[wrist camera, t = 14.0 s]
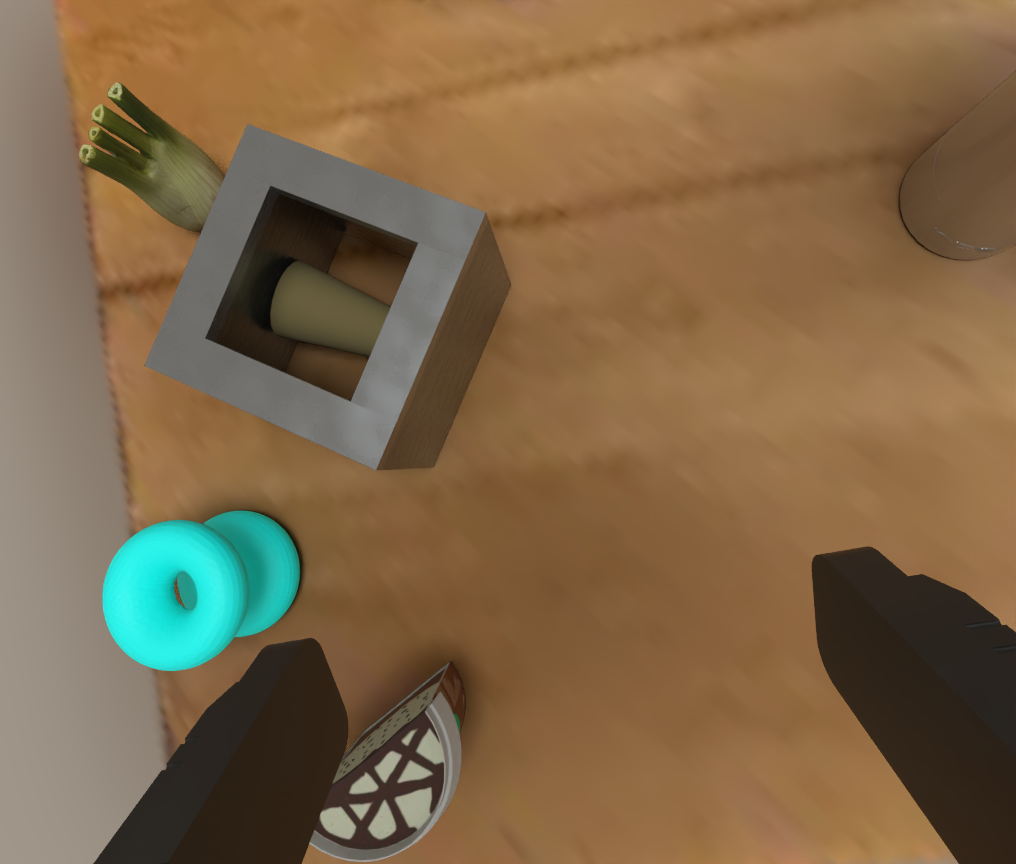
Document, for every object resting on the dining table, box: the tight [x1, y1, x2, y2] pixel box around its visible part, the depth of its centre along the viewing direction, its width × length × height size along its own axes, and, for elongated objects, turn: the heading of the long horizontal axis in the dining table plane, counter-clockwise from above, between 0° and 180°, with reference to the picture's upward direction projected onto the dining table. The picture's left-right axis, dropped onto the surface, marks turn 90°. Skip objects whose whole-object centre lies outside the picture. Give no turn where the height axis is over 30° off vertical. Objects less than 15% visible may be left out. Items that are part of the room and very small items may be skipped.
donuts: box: [102, 511, 300, 671], centre depth 41 cm, size 10×10×10 cm
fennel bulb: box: [79, 82, 225, 231], centre depth 42 cm, size 6×5×12 cm
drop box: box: [144, 124, 511, 470], centre depth 39 cm, size 16×16×13 cm
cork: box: [270, 261, 391, 356], centre depth 42 cm, size 6×6×11 cm
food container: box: [309, 661, 465, 862], centre depth 38 cm, size 12×6×10 cm, turn 130°
